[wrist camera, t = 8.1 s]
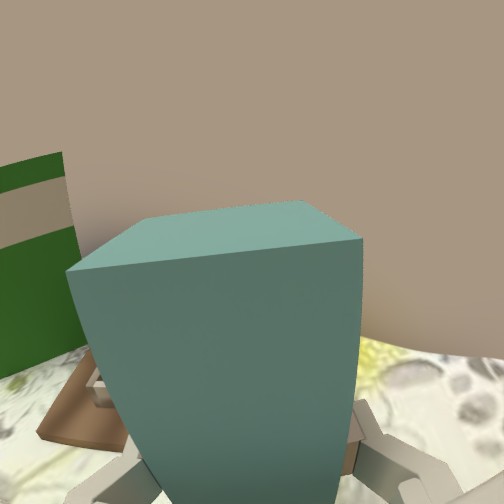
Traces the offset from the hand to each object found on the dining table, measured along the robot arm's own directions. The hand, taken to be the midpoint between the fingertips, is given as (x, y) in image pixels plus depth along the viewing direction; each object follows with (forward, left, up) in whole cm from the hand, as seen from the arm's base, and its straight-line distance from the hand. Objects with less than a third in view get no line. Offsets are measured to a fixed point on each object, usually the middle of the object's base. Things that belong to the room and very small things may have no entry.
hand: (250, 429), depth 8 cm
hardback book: (-29, +23, -11) cm, 39 cm away
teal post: (0, -1, -8) cm, 8 cm away
